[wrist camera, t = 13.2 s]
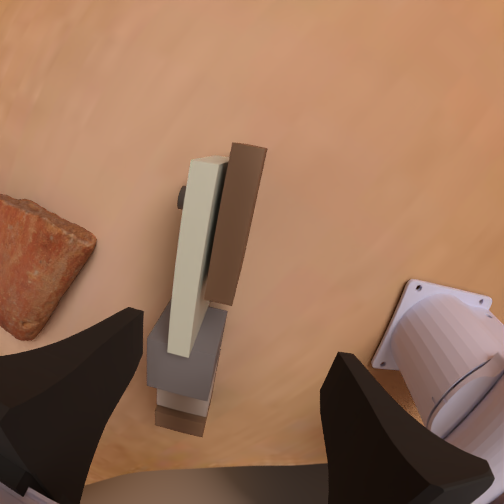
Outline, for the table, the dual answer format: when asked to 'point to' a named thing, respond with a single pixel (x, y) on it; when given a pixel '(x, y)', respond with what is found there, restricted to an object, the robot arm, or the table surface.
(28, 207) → the ceramic shard
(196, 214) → the cream bar
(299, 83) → the table surface
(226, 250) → the door frame
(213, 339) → the grey block
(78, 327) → the table surface
